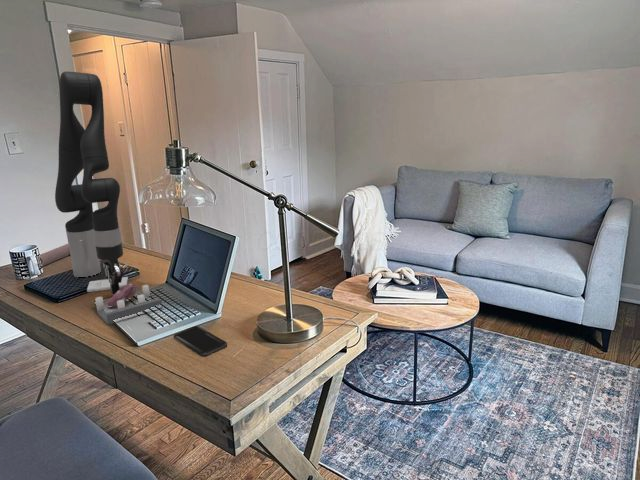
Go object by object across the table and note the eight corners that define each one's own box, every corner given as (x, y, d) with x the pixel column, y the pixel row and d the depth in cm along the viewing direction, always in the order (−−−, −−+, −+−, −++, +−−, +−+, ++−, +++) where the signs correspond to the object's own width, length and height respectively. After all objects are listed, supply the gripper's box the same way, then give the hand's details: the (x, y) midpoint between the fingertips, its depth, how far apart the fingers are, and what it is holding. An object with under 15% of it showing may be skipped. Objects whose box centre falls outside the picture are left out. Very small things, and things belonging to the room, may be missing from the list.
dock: (96, 313, 138) (94, 297, 137) (148, 298, 148) (147, 284, 147) (108, 324, 131) (105, 308, 129) (162, 308, 141) (160, 293, 139)
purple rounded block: (116, 313, 141) (122, 296, 139) (104, 306, 141) (110, 288, 139) (135, 300, 150) (141, 284, 148) (123, 294, 151) (130, 277, 148)
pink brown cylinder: (42, 257, 177) (76, 243, 193) (32, 255, 178) (66, 242, 194) (43, 268, 178) (76, 254, 195) (33, 266, 179) (67, 252, 196)
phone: (202, 355, 113) (171, 335, 123) (203, 359, 114) (172, 338, 123) (228, 343, 119) (197, 324, 129) (229, 347, 119) (197, 328, 129)
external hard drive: (127, 288, 158) (87, 293, 154) (128, 280, 165) (90, 284, 162) (126, 284, 158) (86, 289, 154) (127, 276, 165) (89, 280, 161)
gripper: (89, 240, 144) (97, 290, 150) (102, 249, 135) (110, 303, 140) (113, 235, 149) (120, 284, 154) (128, 244, 140) (135, 296, 145)
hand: (115, 293), depth 147 cm, fingers closed
